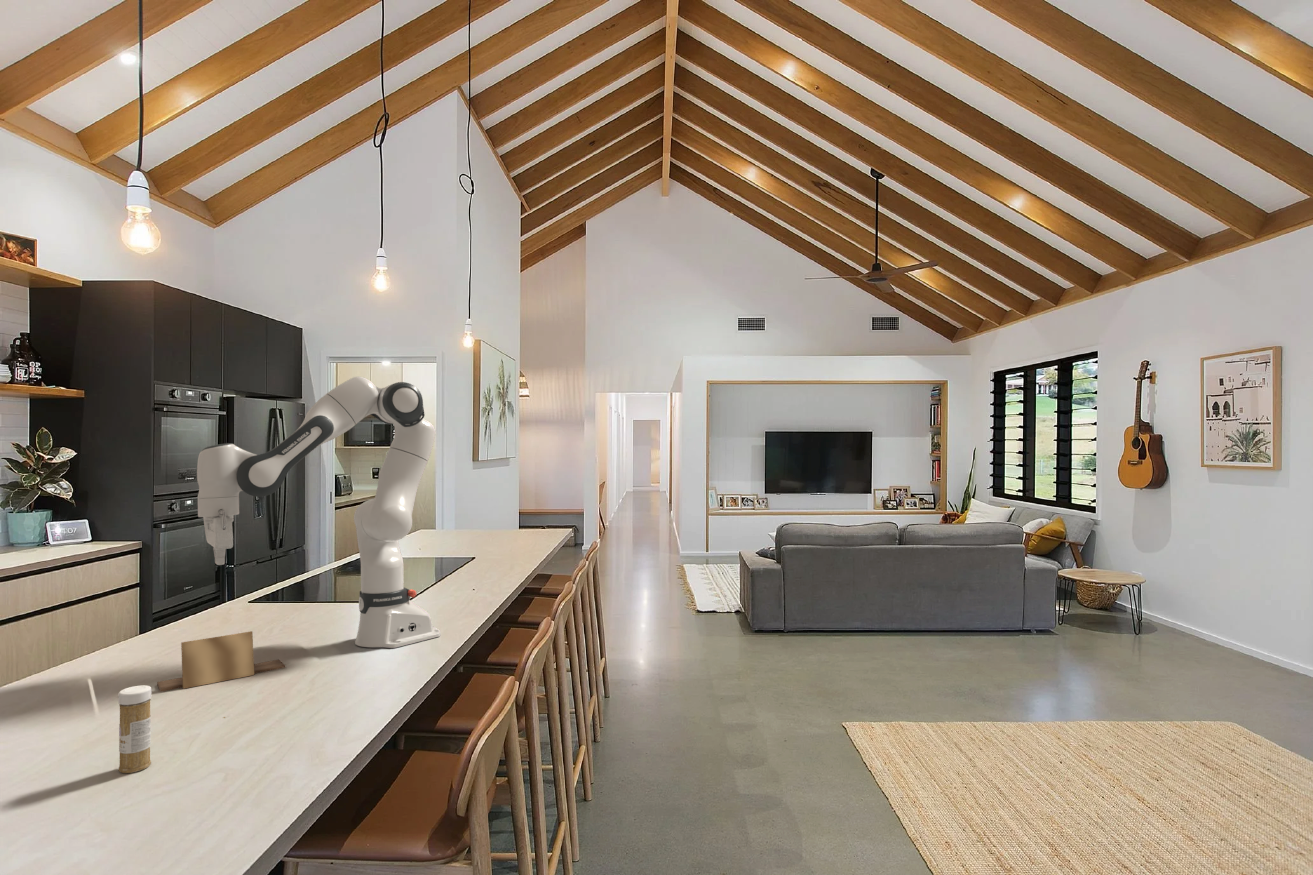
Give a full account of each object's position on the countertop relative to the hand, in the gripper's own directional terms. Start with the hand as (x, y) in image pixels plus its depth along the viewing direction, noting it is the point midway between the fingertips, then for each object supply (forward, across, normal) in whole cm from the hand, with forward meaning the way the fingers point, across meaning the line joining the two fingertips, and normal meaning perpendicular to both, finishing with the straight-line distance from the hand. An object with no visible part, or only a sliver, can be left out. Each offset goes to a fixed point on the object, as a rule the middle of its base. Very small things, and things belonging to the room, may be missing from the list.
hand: (219, 564), depth 179 cm
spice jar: (+26, -56, +19) cm, 65 cm away
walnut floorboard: (+25, -12, +1) cm, 28 cm away
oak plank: (+20, -16, +2) cm, 25 cm away
